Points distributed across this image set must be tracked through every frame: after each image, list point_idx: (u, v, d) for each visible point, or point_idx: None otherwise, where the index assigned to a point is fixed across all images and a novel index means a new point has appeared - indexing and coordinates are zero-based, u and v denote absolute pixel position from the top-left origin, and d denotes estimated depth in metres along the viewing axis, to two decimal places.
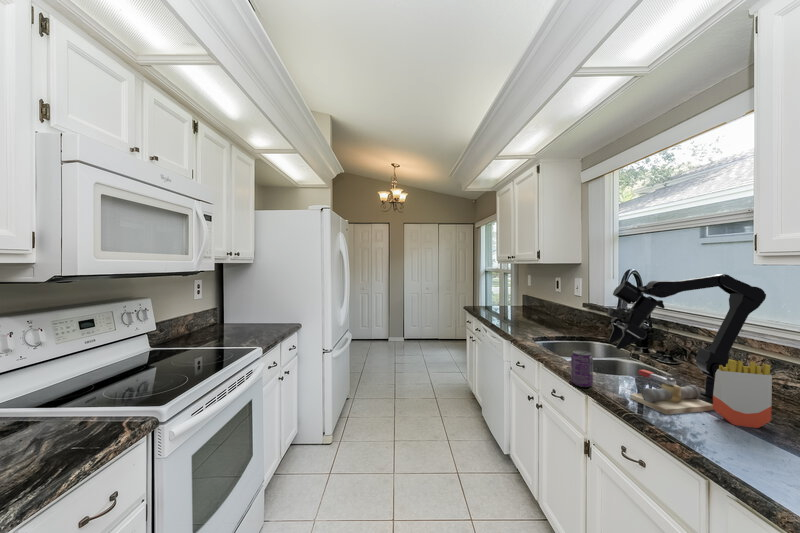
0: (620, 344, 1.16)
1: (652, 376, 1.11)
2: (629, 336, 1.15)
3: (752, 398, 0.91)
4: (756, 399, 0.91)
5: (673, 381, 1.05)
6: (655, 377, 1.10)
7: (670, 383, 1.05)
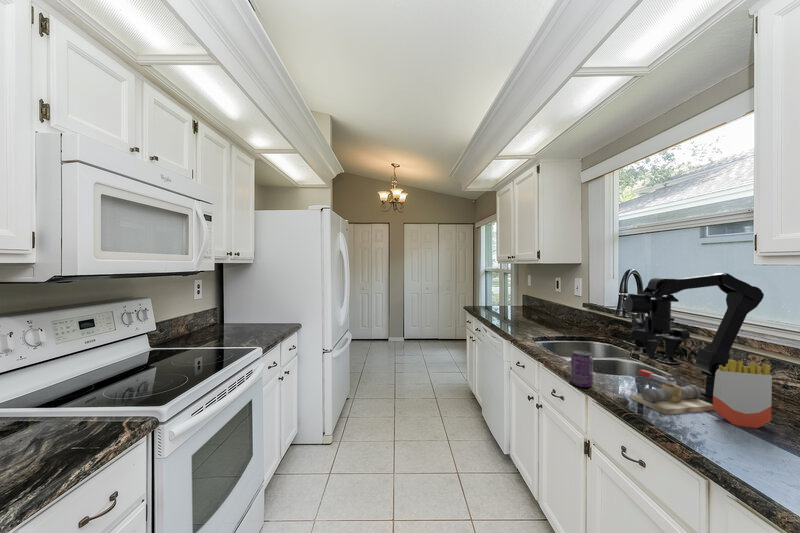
0: (648, 353, 1.15)
1: (652, 376, 1.11)
2: (649, 342, 1.14)
3: (752, 398, 0.91)
4: (756, 399, 0.91)
5: (673, 381, 1.05)
6: (655, 377, 1.10)
7: (670, 383, 1.05)
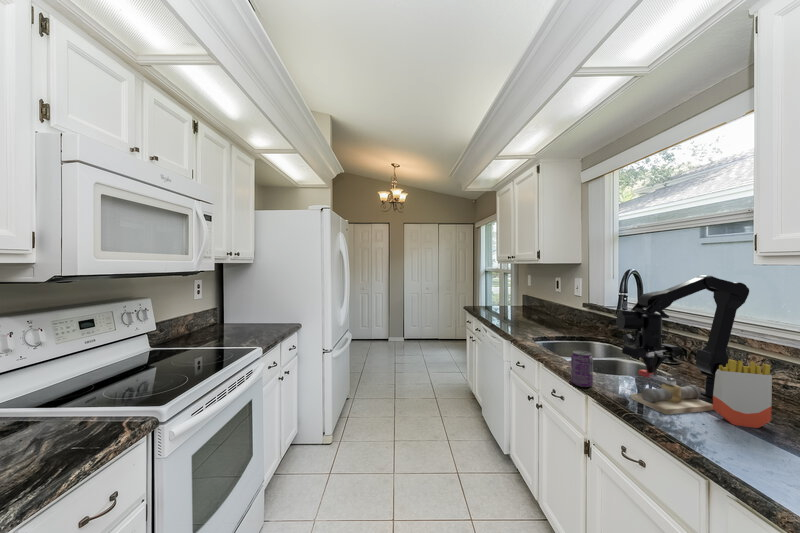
0: (648, 369, 1.15)
1: (652, 376, 1.11)
2: (648, 358, 1.14)
3: (752, 398, 0.91)
4: (756, 399, 0.91)
5: (673, 381, 1.05)
6: (655, 377, 1.10)
7: (670, 383, 1.05)
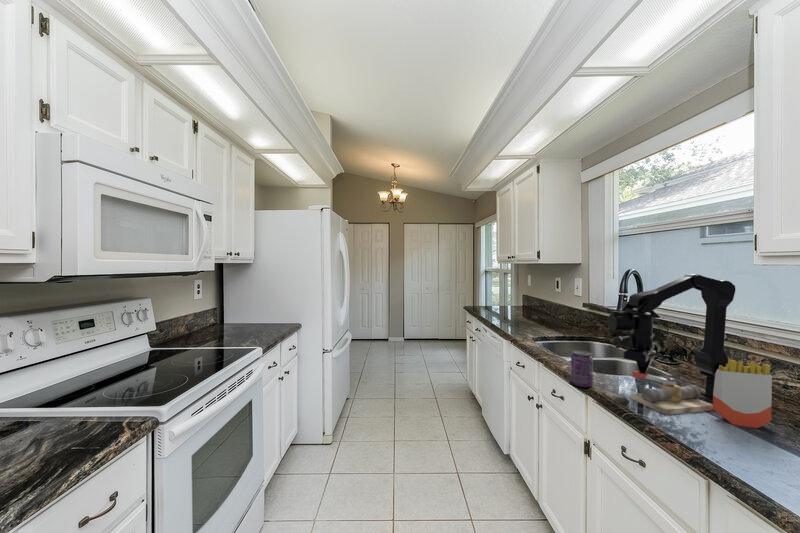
0: (640, 370, 1.14)
1: (649, 377, 1.10)
2: None
3: (752, 398, 0.91)
4: (756, 399, 0.91)
5: (674, 381, 1.05)
6: (653, 378, 1.09)
7: (671, 383, 1.05)
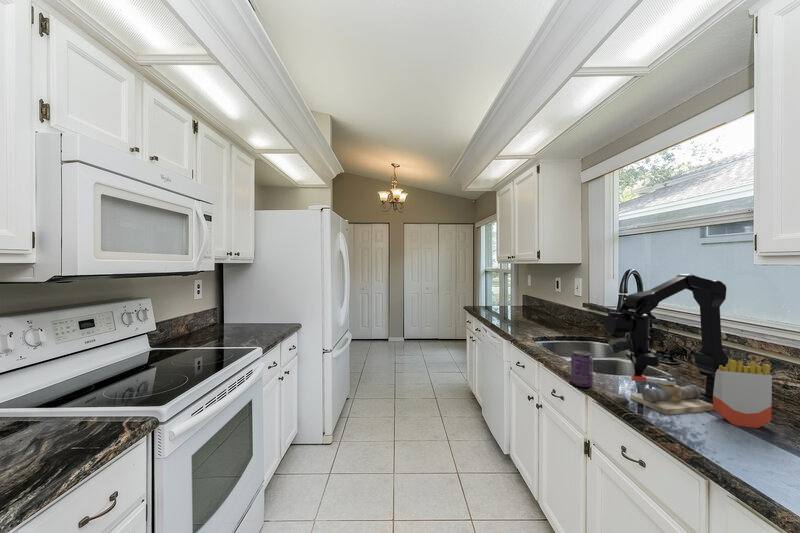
0: (637, 373, 1.11)
1: (650, 380, 1.08)
2: None
3: (752, 398, 0.91)
4: (756, 399, 0.91)
5: (675, 381, 1.05)
6: (654, 380, 1.07)
7: (673, 383, 1.05)
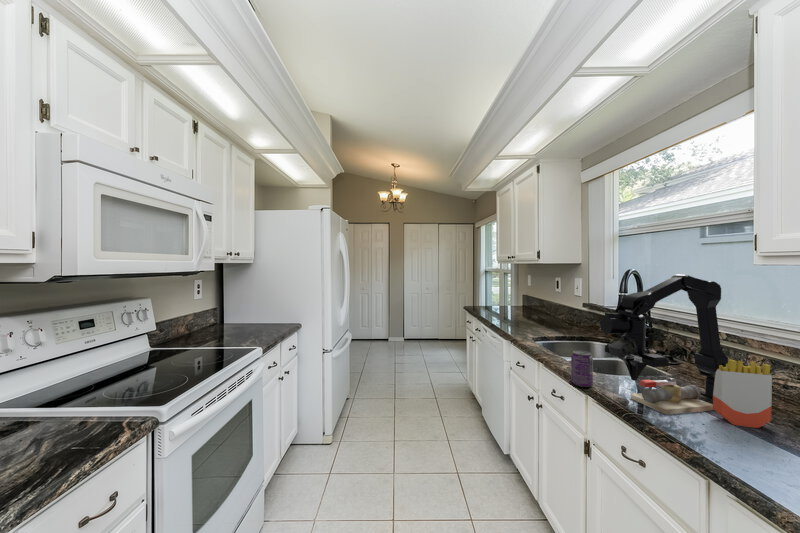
0: (635, 375, 1.08)
1: (658, 383, 1.04)
2: (638, 363, 1.08)
3: (752, 398, 0.91)
4: (756, 399, 0.91)
5: None
6: (661, 383, 1.04)
7: (674, 383, 1.05)
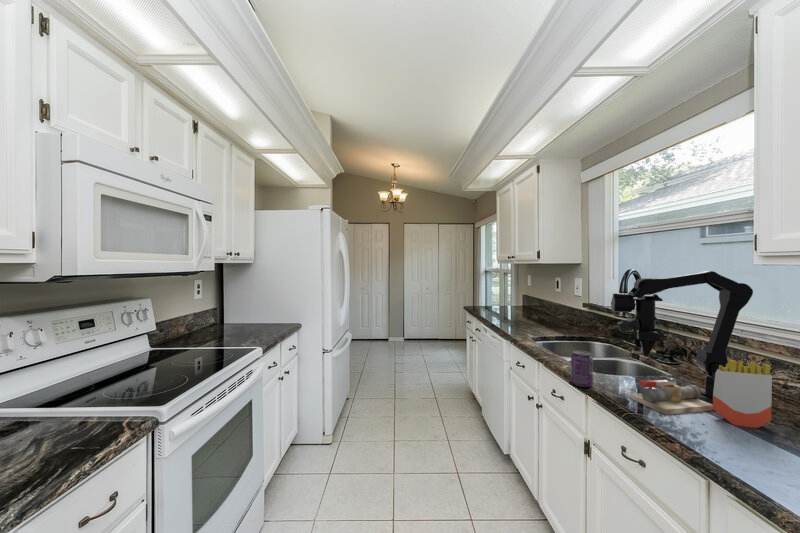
0: (645, 351, 1.19)
1: (658, 383, 1.04)
2: (646, 340, 1.18)
3: (752, 398, 0.91)
4: (756, 399, 0.91)
5: None
6: (661, 383, 1.04)
7: (674, 383, 1.05)
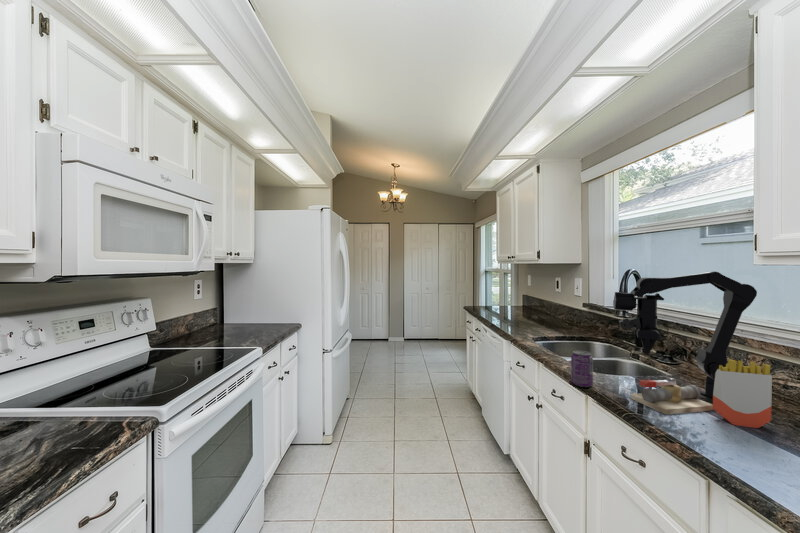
0: (645, 349, 1.20)
1: (658, 383, 1.04)
2: (647, 339, 1.19)
3: (752, 398, 0.91)
4: (756, 399, 0.91)
5: None
6: (661, 383, 1.04)
7: (674, 383, 1.05)
